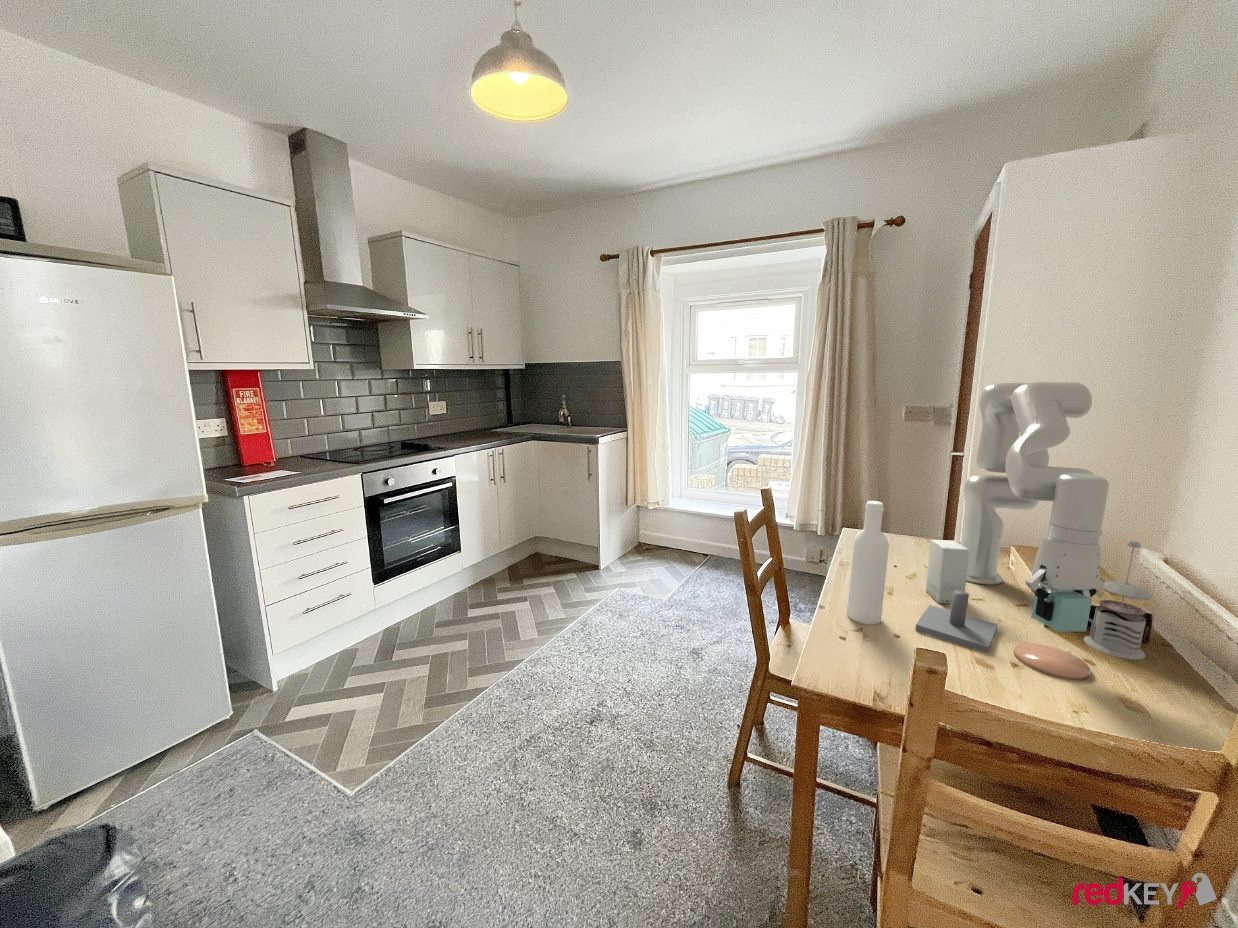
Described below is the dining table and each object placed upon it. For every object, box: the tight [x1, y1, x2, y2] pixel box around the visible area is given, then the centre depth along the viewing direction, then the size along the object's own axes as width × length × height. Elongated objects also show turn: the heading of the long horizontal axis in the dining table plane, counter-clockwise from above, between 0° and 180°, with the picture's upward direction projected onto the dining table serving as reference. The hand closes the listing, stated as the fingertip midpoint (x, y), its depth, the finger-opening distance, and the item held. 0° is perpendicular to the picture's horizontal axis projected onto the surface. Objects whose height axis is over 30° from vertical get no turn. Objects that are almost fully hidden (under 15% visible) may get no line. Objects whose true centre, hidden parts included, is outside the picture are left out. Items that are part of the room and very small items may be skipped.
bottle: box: [846, 500, 890, 626], centre depth 118 cm, size 8×8×30 cm
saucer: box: [1013, 642, 1091, 681], centre depth 101 cm, size 12×12×1 cm
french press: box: [1083, 540, 1153, 660], centre depth 105 cm, size 10×12×25 cm
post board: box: [915, 590, 998, 654], centre depth 113 cm, size 14×14×10 cm
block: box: [1031, 588, 1093, 632], centre depth 99 cm, size 6×6×7 cm
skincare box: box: [925, 539, 969, 605], centre depth 130 cm, size 8×7×16 cm
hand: (1058, 616), depth 99 cm, fingers closed on block, 5 cm apart
